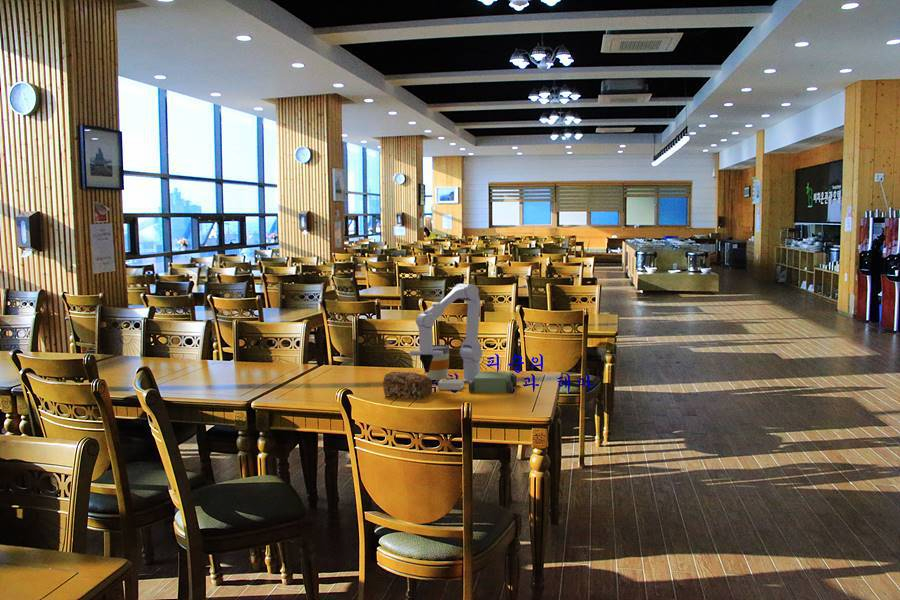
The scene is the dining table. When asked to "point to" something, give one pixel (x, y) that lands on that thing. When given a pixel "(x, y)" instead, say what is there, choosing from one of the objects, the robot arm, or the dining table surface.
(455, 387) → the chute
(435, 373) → the reusable coffee cup
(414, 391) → the bread
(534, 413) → the dining table surface
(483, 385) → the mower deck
